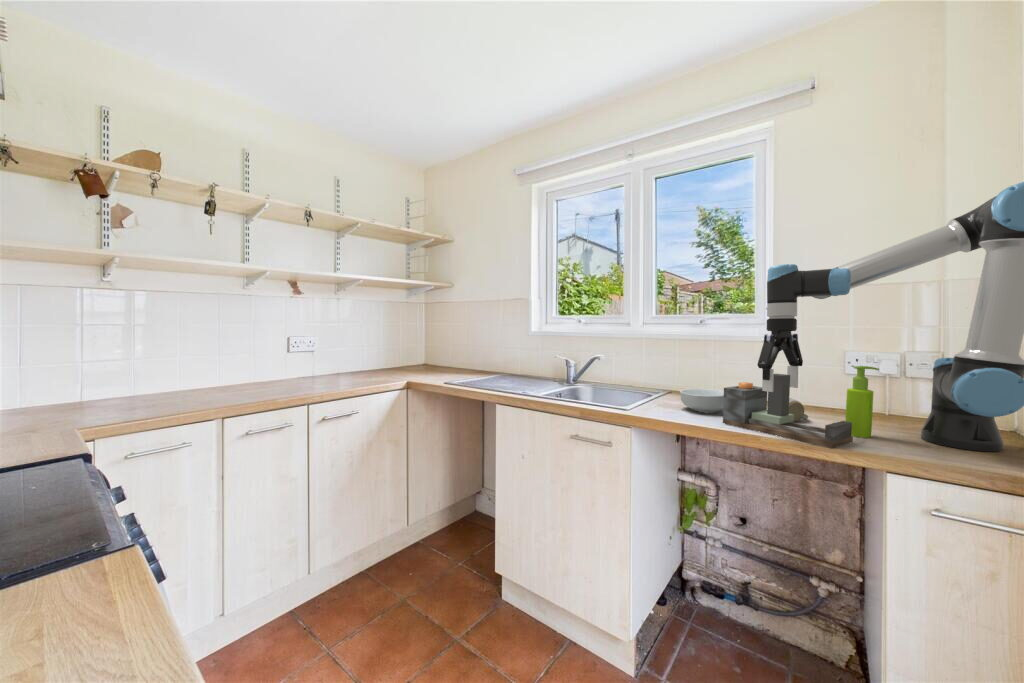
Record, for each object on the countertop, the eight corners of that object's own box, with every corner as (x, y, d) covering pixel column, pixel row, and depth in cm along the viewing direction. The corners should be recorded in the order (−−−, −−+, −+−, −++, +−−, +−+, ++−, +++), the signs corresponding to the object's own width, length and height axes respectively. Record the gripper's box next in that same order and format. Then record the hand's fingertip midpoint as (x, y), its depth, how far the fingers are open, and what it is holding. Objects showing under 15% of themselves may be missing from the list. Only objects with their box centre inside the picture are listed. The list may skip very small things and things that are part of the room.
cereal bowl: (696, 404, 165) (697, 386, 164) (739, 412, 151) (740, 392, 151) (670, 409, 155) (670, 390, 155) (713, 418, 141) (714, 397, 141)
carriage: (793, 421, 125) (795, 374, 124) (779, 424, 121) (781, 376, 120) (766, 416, 132) (767, 371, 131) (751, 418, 128) (753, 373, 127)
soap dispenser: (879, 439, 117) (883, 368, 116) (849, 436, 119) (853, 366, 118) (870, 433, 123) (873, 365, 122) (841, 431, 125) (844, 364, 124)
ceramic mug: (785, 422, 136) (786, 399, 135) (767, 416, 144) (768, 394, 143) (815, 422, 137) (816, 399, 137) (795, 416, 145) (796, 394, 145)
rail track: (852, 441, 114) (854, 400, 114) (831, 448, 108) (833, 404, 108) (744, 419, 140) (745, 385, 140) (722, 423, 134) (723, 387, 134)
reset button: (755, 392, 133) (755, 383, 133) (748, 394, 131) (748, 384, 131) (743, 391, 136) (743, 381, 136) (735, 392, 134) (736, 382, 134)
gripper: (790, 318, 133) (789, 384, 134) (744, 318, 121) (743, 391, 122) (816, 317, 127) (815, 387, 128) (771, 317, 114) (770, 394, 115)
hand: (780, 389), depth 125 cm, fingers open, 13 cm apart
